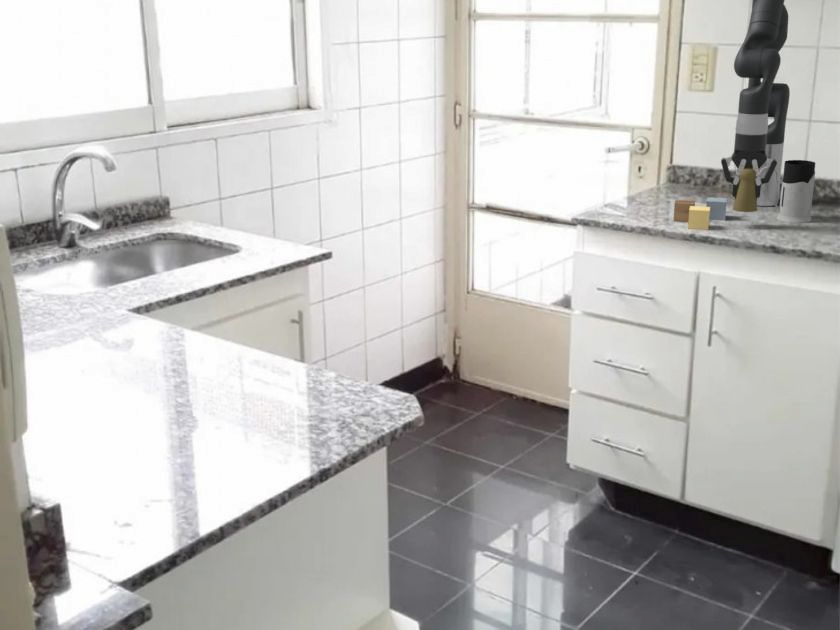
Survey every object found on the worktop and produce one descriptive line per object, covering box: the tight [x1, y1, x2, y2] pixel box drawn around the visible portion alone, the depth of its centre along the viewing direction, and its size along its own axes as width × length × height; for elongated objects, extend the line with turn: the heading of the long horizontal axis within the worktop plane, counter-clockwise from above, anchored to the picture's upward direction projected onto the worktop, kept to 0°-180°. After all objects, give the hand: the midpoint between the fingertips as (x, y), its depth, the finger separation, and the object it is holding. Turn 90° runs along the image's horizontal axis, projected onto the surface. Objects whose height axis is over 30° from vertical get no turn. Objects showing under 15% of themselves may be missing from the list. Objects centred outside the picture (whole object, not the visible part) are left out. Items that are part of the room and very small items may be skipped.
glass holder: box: [760, 159, 816, 224], centre depth 261 cm, size 9×14×15 cm, turn 77°
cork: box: [732, 168, 758, 213], centre depth 253 cm, size 6×6×11 cm
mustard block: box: [687, 205, 710, 231], centre depth 255 cm, size 5×5×5 cm
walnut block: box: [673, 198, 696, 223], centre depth 264 cm, size 5×5×5 cm
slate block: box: [705, 197, 728, 221], centre depth 265 cm, size 5×5×5 cm
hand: (745, 198), depth 254 cm, fingers closed on cork, 4 cm apart
